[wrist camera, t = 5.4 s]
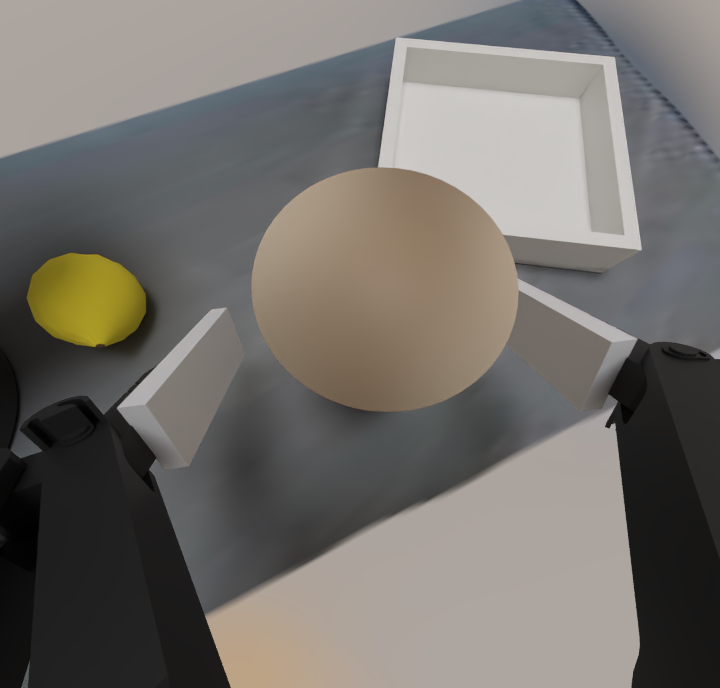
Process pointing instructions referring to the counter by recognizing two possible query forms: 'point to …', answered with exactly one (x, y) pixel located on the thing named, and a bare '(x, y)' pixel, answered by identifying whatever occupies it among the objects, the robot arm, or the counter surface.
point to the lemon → (86, 300)
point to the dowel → (385, 289)
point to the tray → (520, 145)
